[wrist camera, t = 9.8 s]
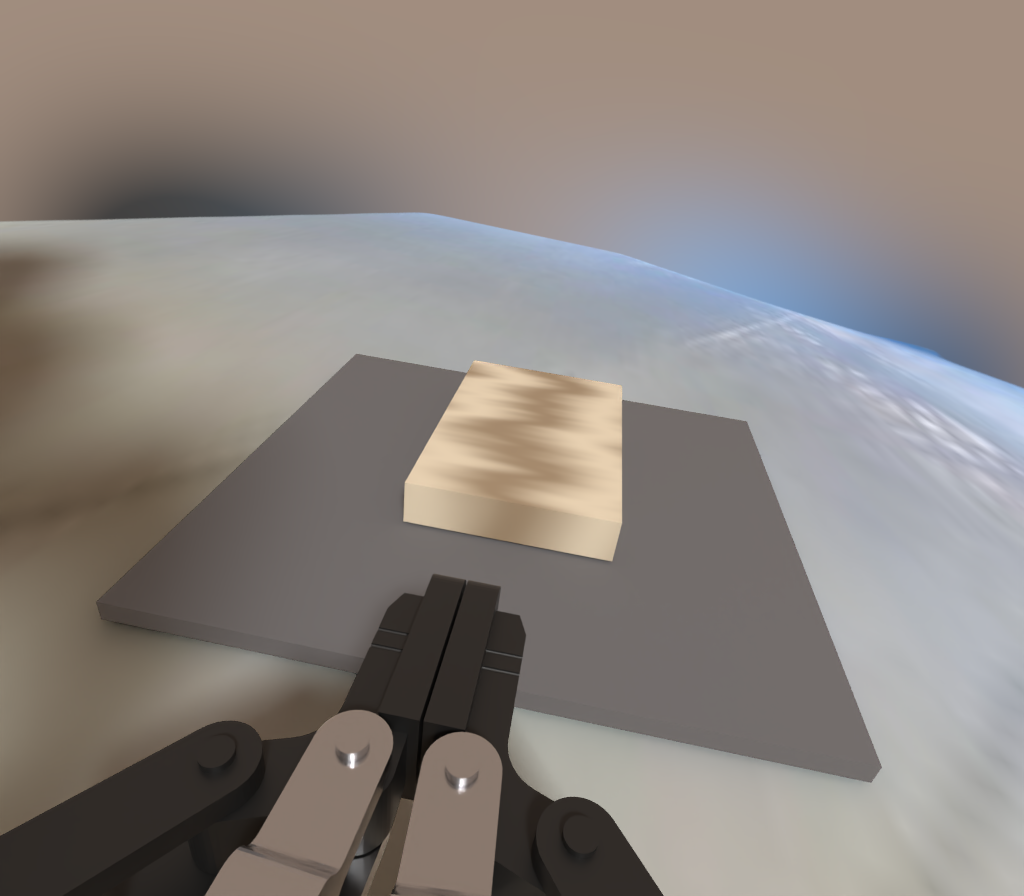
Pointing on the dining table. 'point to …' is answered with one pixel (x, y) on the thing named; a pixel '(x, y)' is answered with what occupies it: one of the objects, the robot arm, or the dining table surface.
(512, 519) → the birch tile
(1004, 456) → the dining table surface
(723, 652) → the rubber mat
